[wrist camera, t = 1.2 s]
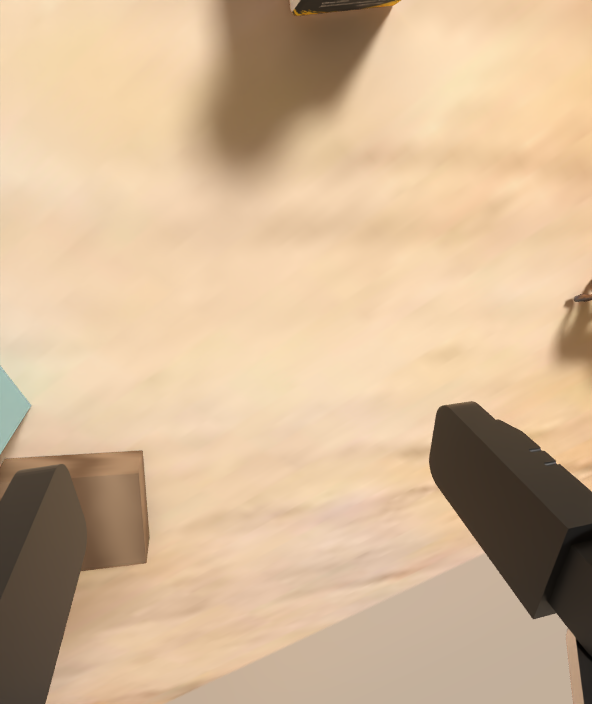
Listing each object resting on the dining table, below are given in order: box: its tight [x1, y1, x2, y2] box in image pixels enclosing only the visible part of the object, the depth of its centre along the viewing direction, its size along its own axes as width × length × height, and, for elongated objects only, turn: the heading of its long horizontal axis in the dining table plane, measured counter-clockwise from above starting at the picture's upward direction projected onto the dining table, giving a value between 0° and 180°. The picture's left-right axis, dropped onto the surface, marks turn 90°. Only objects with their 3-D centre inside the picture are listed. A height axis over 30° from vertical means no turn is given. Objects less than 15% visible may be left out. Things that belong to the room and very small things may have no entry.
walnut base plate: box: [0, 451, 149, 571], centre depth 38 cm, size 11×11×3 cm
